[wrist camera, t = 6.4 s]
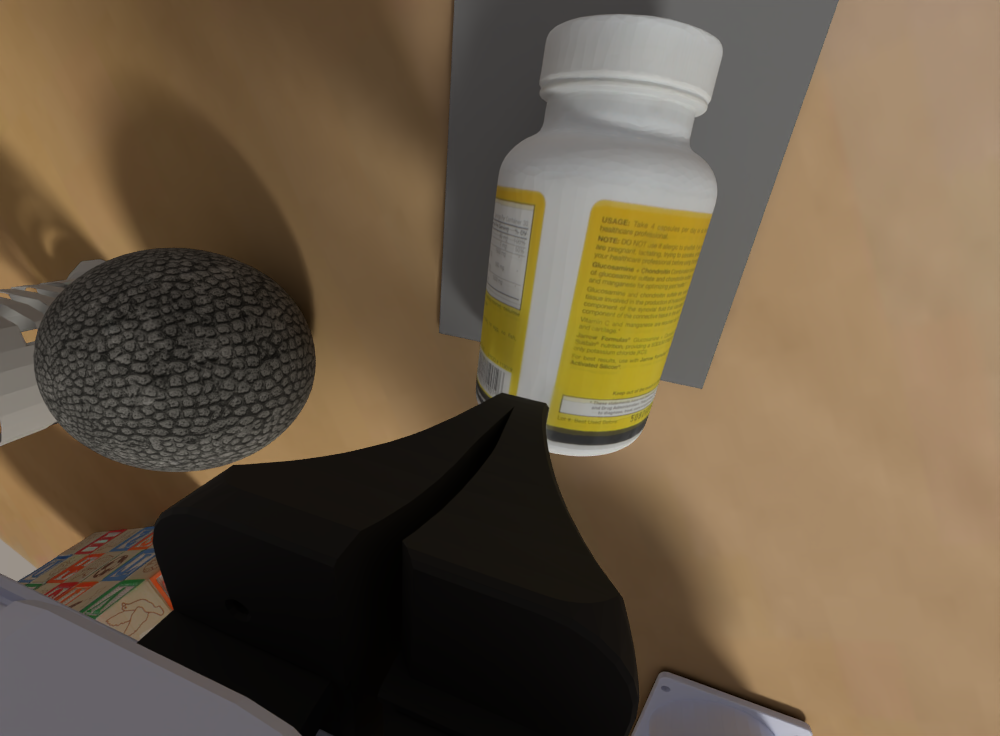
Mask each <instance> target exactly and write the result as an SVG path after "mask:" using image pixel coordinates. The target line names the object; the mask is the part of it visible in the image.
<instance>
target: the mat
mask: <svg viewBox="0 0 1000 736" xmlns="http://www.w3.org/2000/svg"><path fill="white" fill-rule="evenodd" d="M838 1H839V0H455V1H454V23H453V44H452V66H451V88H450V109H449V131H448V153H447V175H446V196H445V218H444V240H443V261H442V283H441V305H440V327H439V333H442V334H446V335H451V336H456V337H460V338H465V339H470V340H474V341H479V342H481V333H482V323H483V313H484V304H485V294H486V285H487V275H488V266H489V256H490V246H491V237H492V227H493V218H494V209H495V200H496V191H497V183H498V176H499V170H500V167H501V165H502V162H503V161H504V159H505V157H506V156H507V154H508V153H509V152H510V151H511V150H512V149H513V148H514V147H515V146H516V145H517V144H519V143H520V142H521V141H523V140H525V139H526V138H528V137H531V136H533V135H535V134H537V133H538V132H539V131H540V130H541V128H542V126H543V123H544V117H545V110H546V106H547V102H546V101H545V100H543V99H542V98H541V97H540V90H541V87H540V85H539V81H540V75H541V70H542V64H543V57H544V50H545V44H546V39H547V37H548V34H549V33H550V31H551V30H552V29H554V28H555V27H556V26H557V25H559V24H562V23H564V22H566V21H569V20H572V19H576V18H579V17H586V16H594V15H605V14H633V15H648V16H656V17H662V18H668V19H672V20H676V21H679V22H682V23H686V24H689V25H692V26H695V27H697V28H700V29H702V30H705V31H706V32H708V33H710V34H712V35H713V36H715V37H716V38H717V39H718V40H719V41H720V42H721V44H722V48H723V55H722V59H721V63H720V67H719V71H718V74H717V78H716V82H715V86H714V90H713V94H712V98H711V101H710V102H709V104H708V107H707V111H706V112H705V113H704V114H702V115H700V116H698V117H695V118H694V123H693V127H692V132H691V136H690V147H691V149H692V151H693V152H695V153H696V154H697V155H699V156H700V157H701V158H703V159H704V160H705V161H706V163H707V164H708V165H709V166H710V168H711V169H712V171H713V173H714V176H715V178H716V183H717V199H716V204H715V207H714V210H713V214H712V217H711V220H710V223H709V227H708V230H707V233H706V236H705V239H704V242H703V245H702V248H701V252H700V255H699V258H698V261H697V264H696V267H695V270H694V273H693V277H692V280H691V283H690V286H689V289H688V292H687V295H686V299H685V302H684V305H683V308H682V311H681V314H680V318H679V321H678V324H677V327H676V330H675V333H674V337H673V340H672V343H671V346H670V349H669V352H668V356H667V359H666V362H665V365H664V368H663V371H662V374H661V378H660V380H662V381H667V382H672V383H676V384H681V385H686V386H690V387H695V388H700V389H702V388H703V385H704V382H705V379H706V376H707V373H708V370H709V368H710V365H711V362H712V359H713V356H714V353H715V351H716V348H717V345H718V342H719V339H720V336H721V333H722V331H723V328H724V325H725V322H726V319H727V316H728V314H729V311H730V308H731V305H732V302H733V299H734V297H735V294H736V291H737V288H738V285H739V282H740V279H741V277H742V274H743V271H744V268H745V265H746V262H747V260H748V257H749V254H750V251H751V248H752V245H753V243H754V240H755V237H756V234H757V231H758V228H759V225H760V223H761V220H762V217H763V214H764V211H765V208H766V206H767V203H768V200H769V197H770V194H771V191H772V188H773V186H774V183H775V180H776V177H777V174H778V171H779V169H780V166H781V163H782V160H783V157H784V154H785V152H786V149H787V146H788V143H789V140H790V137H791V134H792V132H793V129H794V126H795V123H796V120H797V117H798V115H799V112H800V109H801V106H802V103H803V100H804V97H805V95H806V92H807V89H808V86H809V83H810V80H811V78H812V75H813V72H814V69H815V66H816V63H817V61H818V58H819V55H820V52H821V49H822V46H823V43H824V41H825V38H826V35H827V32H828V29H829V26H830V24H831V21H832V18H833V15H834V12H835V9H836V7H837V4H838Z"/></svg>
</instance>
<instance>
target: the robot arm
mask: <svg viewBox="0 0 1000 736" xmlns="http://www.w3.org/2000/svg"><path fill="white" fill-rule="evenodd" d="M548 412H549V407H548V405H547V404H546V403H544V402H540V401H535V400H531V399H527V398H523V397H519V396H514V395H510V394H506V393H500V394H498V395H496V396H494V397H492V398H490V399H488V400H486V401H484V402H483V403H481V404H479V405H477V406H475V407H473V408H471V409H469V410H467V411H465V412H463V413H461V414H460V415H458V416H456V417H453V418H451V419H449V420H447V421H444V422H442V423H440V424H438V425H435V426H433V427H431V428H429V429H426V430H424V431H421V432H418V433H416V434H413V435H410V436H407V437H404V438H401V439H398V440H394V441H391V442H388V443H384V444H380V445H376V446H372V447H368V448H363V449H359V450H355V451H351V452H346V453H341V454H335V455H329V456H323V457H316V458H310V459H302V460H294V461H284V462H271V463H259V464H246V465H233V466H231V467H229V468H228V469H227V470H225V471H224V472H222V473H221V474H219V475H218V476H216V477H215V478H213V479H212V480H210V481H209V482H207V483H206V484H204V485H203V486H201V487H200V488H198V489H197V490H195V491H194V492H192V493H191V494H189V495H188V496H186V497H185V498H183V499H182V500H180V501H179V502H177V503H176V504H174V505H173V506H171V507H170V508H168V509H167V510H165V511H164V512H162V513H161V515H160V516H159V518H158V519H157V521H156V523H155V526H154V533H153V542H152V543H153V547H154V552H155V557H156V560H157V563H158V566H159V568H160V571H161V574H162V577H163V580H164V583H165V586H166V589H167V592H168V595H169V597H170V600H171V603H172V606H173V609H174V610H173V611H172V612H170V613H169V614H168V615H167V616H166V617H165V618H164V619H163V620H161V621H160V622H159V623H158V624H157V625H156V626H155V627H154V628H153V629H151V630H150V631H149V632H148V633H147V634H146V635H145V636H144V637H142V638H141V639H140V640H139V641H138V640H136V639H134V638H132V637H130V636H128V635H126V634H124V633H122V632H119V631H117V630H115V629H113V628H111V627H109V626H107V625H105V624H103V623H101V622H99V621H97V620H95V619H93V618H91V617H89V616H87V615H85V614H82V613H80V612H78V611H76V610H74V609H72V608H70V607H68V606H66V605H64V604H62V603H60V602H58V601H56V600H54V599H52V598H50V597H48V596H45V595H43V594H41V593H39V592H37V591H35V590H33V589H31V588H29V587H27V586H25V585H23V584H21V583H19V582H17V581H15V580H13V579H11V578H8V577H6V576H4V575H2V574H0V736H628V735H629V732H630V730H631V728H632V726H633V723H634V721H635V719H636V714H637V709H638V703H639V683H638V674H637V665H636V658H635V651H634V645H633V640H632V635H631V630H630V626H629V621H628V617H627V613H626V609H625V605H624V601H623V598H622V596H621V595H620V593H619V592H618V591H617V589H616V588H615V587H614V585H613V584H612V583H611V581H610V580H609V579H608V577H607V576H606V575H605V573H604V572H603V571H602V569H601V568H600V566H599V565H598V563H597V562H596V560H595V559H594V557H593V555H592V554H591V552H590V551H589V549H588V547H587V546H586V544H585V542H584V541H583V539H582V537H581V535H580V533H579V531H578V529H577V527H576V525H575V523H574V521H573V520H572V518H571V516H570V514H569V512H568V510H567V507H566V505H565V502H564V500H563V498H562V495H561V492H560V490H559V487H558V484H557V481H556V478H555V475H554V471H553V468H552V463H551V459H550V455H549V450H548V443H547V435H546V423H547V418H548ZM812 735H813V734H812V731H811V728H810V726H809V725H808V724H807V723H805V722H803V721H801V720H798V719H795V718H793V717H790V716H787V715H784V714H782V713H779V712H776V711H774V710H771V709H768V708H765V707H763V706H760V705H757V704H754V703H752V702H749V701H746V700H744V699H741V698H738V697H735V696H733V695H730V694H727V693H724V692H722V691H719V690H716V689H714V688H711V687H708V686H705V685H703V684H700V683H697V682H694V681H692V680H689V679H686V678H684V677H681V676H678V675H675V674H673V673H670V672H661V673H659V675H658V677H657V679H656V681H655V684H654V686H653V688H652V690H651V692H650V695H649V697H648V699H647V701H646V704H645V706H644V708H643V710H642V712H641V715H640V717H639V719H638V721H637V724H636V726H635V728H634V730H633V732H632V735H631V736H812Z"/></svg>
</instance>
